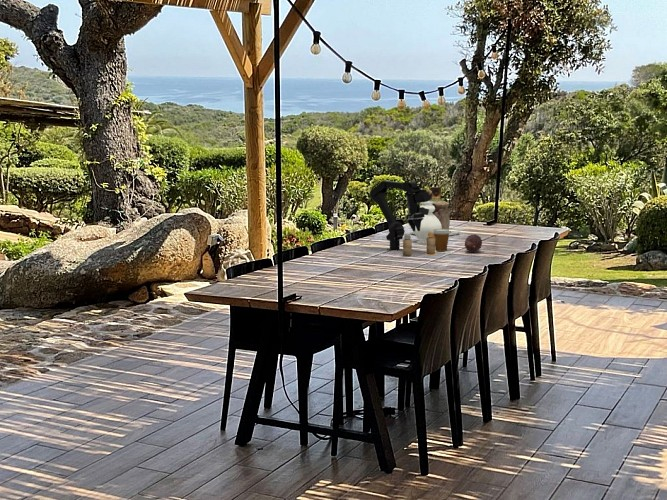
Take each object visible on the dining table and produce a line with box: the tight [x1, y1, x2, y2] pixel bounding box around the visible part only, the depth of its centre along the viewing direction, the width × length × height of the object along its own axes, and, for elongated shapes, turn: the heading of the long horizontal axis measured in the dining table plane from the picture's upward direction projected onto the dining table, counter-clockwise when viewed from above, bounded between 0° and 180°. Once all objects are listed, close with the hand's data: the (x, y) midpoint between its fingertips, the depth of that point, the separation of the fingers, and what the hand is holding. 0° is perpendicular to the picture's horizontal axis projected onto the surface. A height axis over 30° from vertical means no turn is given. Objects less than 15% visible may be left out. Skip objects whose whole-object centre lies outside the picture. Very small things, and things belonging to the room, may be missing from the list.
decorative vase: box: [412, 201, 442, 245], centre depth 526 cm, size 18×18×25 cm
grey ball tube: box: [402, 233, 413, 258], centre depth 473 cm, size 5×5×12 cm
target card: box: [400, 252, 438, 258], centre depth 477 cm, size 11×22×1 cm, turn 114°
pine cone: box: [464, 234, 483, 253], centre depth 492 cm, size 18×10×10 cm, turn 164°
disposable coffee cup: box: [433, 229, 450, 252], centre depth 497 cm, size 10×10×12 cm
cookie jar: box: [409, 185, 461, 237], centre depth 561 cm, size 25×25×32 cm
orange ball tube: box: [425, 232, 436, 256], centre depth 480 cm, size 5×5×12 cm
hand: (416, 231), depth 487 cm, fingers open, 9 cm apart
